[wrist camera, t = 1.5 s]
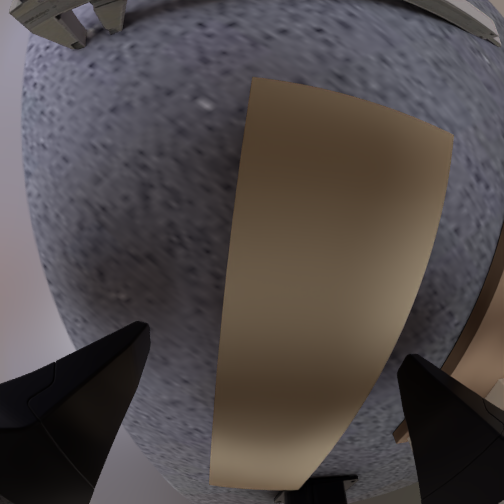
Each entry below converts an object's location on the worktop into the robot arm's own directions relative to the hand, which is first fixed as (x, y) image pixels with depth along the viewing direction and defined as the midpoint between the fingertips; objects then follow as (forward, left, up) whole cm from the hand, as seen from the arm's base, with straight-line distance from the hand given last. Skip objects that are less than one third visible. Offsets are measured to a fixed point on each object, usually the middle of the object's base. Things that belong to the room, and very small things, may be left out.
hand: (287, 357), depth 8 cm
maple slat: (0, 0, -3) cm, 3 cm away
